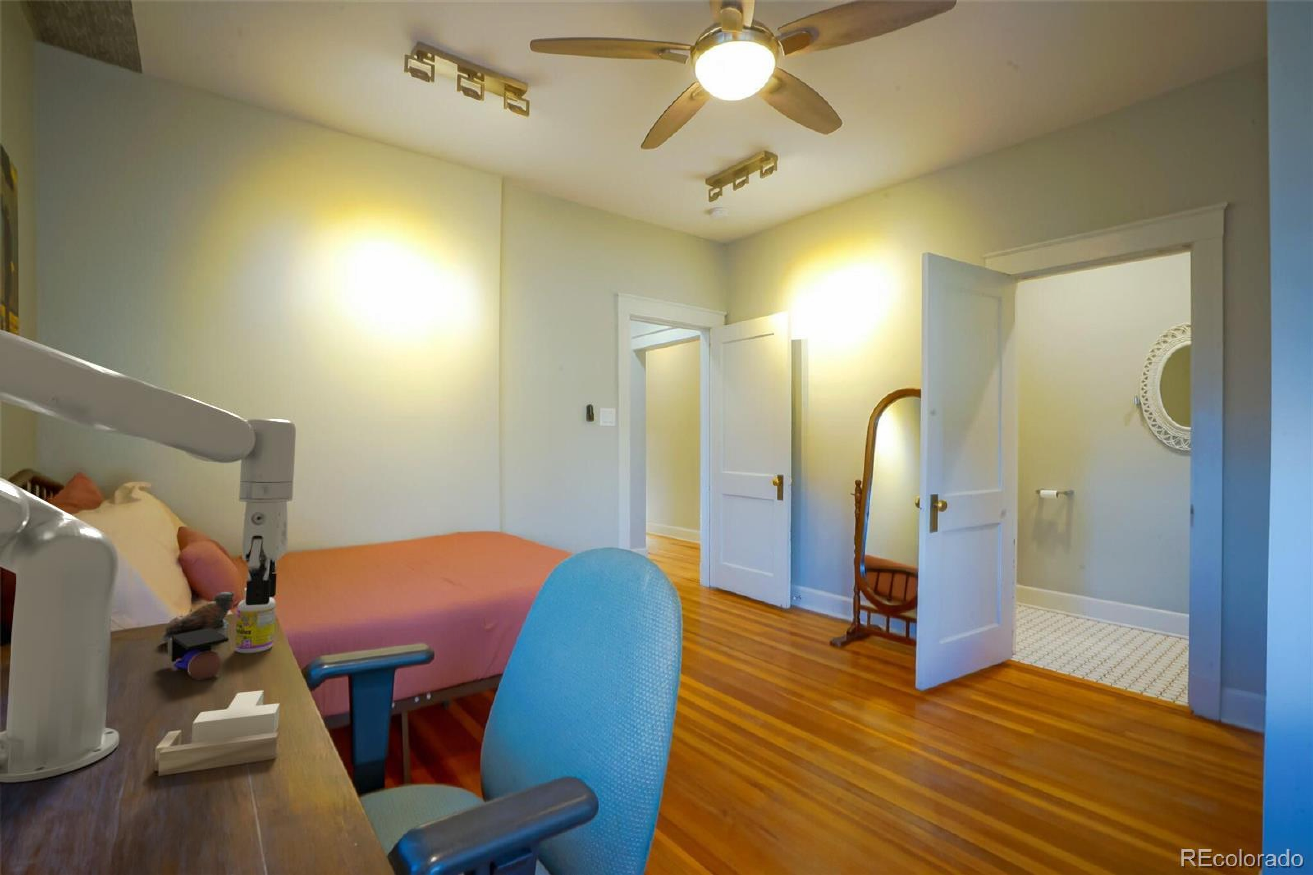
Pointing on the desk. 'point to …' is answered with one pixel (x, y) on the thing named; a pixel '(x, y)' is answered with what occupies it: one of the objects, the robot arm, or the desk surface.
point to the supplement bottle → (255, 626)
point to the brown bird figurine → (203, 617)
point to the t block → (237, 719)
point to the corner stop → (212, 752)
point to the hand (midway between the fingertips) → (261, 599)
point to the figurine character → (197, 652)
